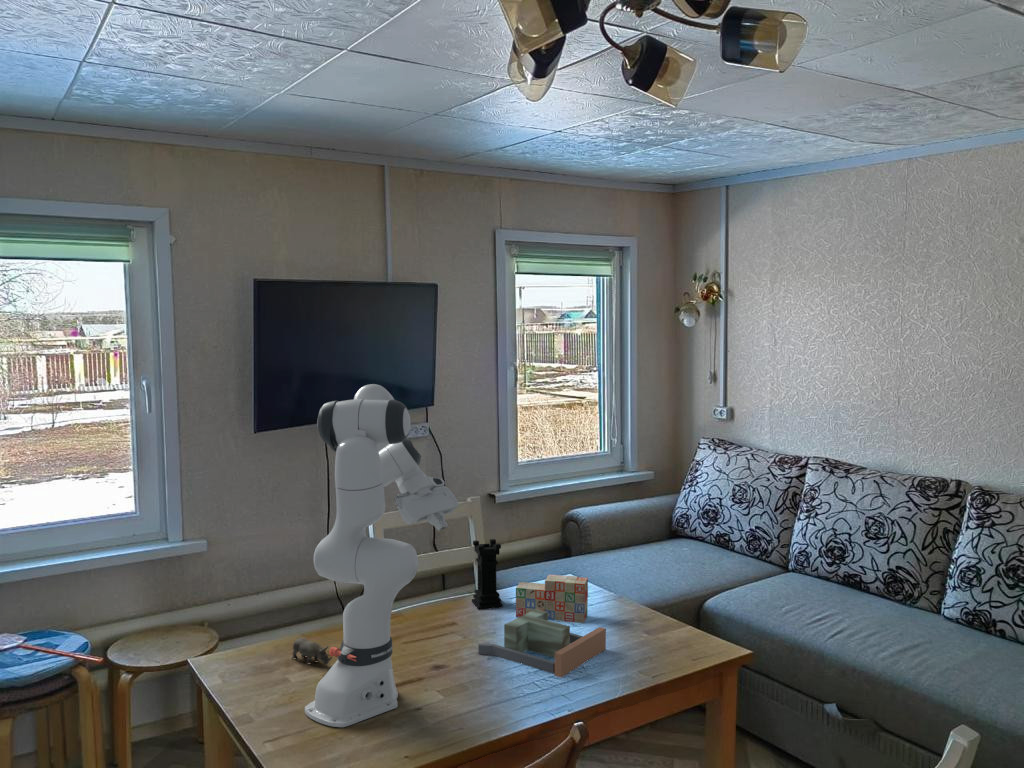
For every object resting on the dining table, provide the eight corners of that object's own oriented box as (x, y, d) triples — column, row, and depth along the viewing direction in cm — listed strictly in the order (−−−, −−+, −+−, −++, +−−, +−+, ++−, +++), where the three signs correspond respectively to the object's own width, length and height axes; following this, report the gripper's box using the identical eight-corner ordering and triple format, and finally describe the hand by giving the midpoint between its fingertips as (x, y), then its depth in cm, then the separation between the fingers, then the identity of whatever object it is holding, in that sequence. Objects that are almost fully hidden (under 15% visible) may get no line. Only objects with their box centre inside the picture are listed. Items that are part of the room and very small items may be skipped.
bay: (558, 679, 208) (558, 656, 207) (476, 653, 224) (476, 632, 224) (607, 648, 227) (607, 627, 227) (529, 627, 243) (529, 607, 243)
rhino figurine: (325, 671, 213) (324, 649, 213) (288, 659, 221) (288, 637, 220) (336, 666, 216) (336, 643, 216) (300, 654, 224) (300, 633, 224)
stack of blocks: (515, 617, 252) (515, 577, 251) (520, 610, 258) (520, 571, 257) (584, 623, 246) (584, 583, 245) (588, 616, 252) (588, 577, 251)
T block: (549, 666, 215) (549, 637, 215) (504, 653, 224) (504, 624, 224) (580, 648, 227) (580, 620, 227) (536, 636, 236) (536, 608, 236)
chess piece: (471, 601, 266) (471, 540, 264) (495, 599, 268) (495, 538, 266) (478, 609, 258) (477, 547, 256) (502, 607, 260) (502, 544, 259)
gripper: (397, 489, 230) (423, 529, 224) (446, 478, 246) (471, 514, 241) (386, 503, 233) (411, 542, 228) (435, 490, 249) (460, 527, 244)
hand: (443, 528), depth 234 cm, fingers closed
